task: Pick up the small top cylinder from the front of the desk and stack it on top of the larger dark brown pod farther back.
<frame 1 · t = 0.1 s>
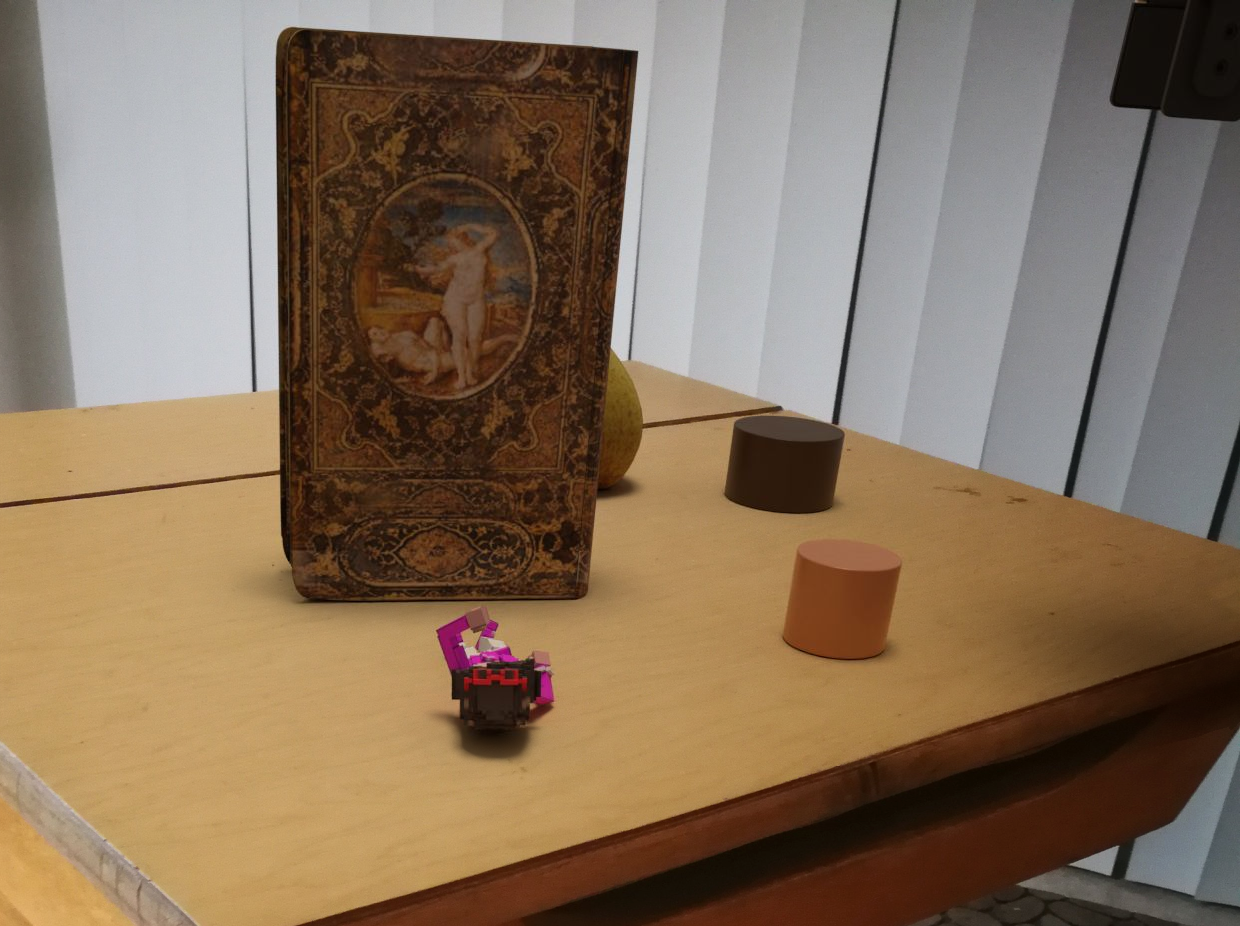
hand: (1170, 113, 66), 24 cm above the table, tool pointing down, fingers open, 9 cm apart
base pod: (778, 497, 102), on the table
top cylinder: (833, 641, 78), on the table
book: (438, 587, 82), on the table
fruit: (568, 485, 102), on the table
character figurine: (492, 706, 69), on the table
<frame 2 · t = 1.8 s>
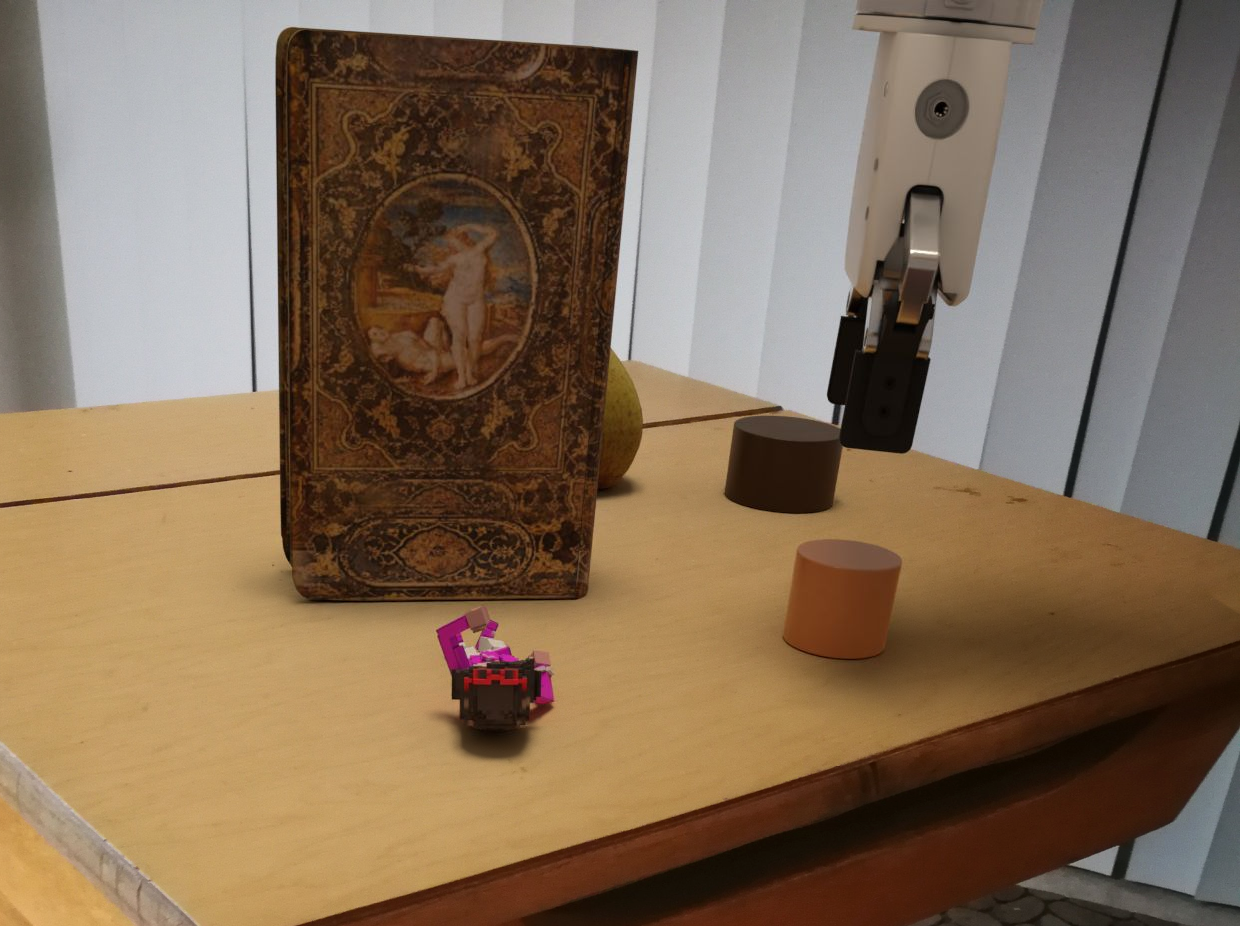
hand: (865, 425, 72), 11 cm above the table, tool pointing down, fingers open, 9 cm apart
nothing on the table moved.
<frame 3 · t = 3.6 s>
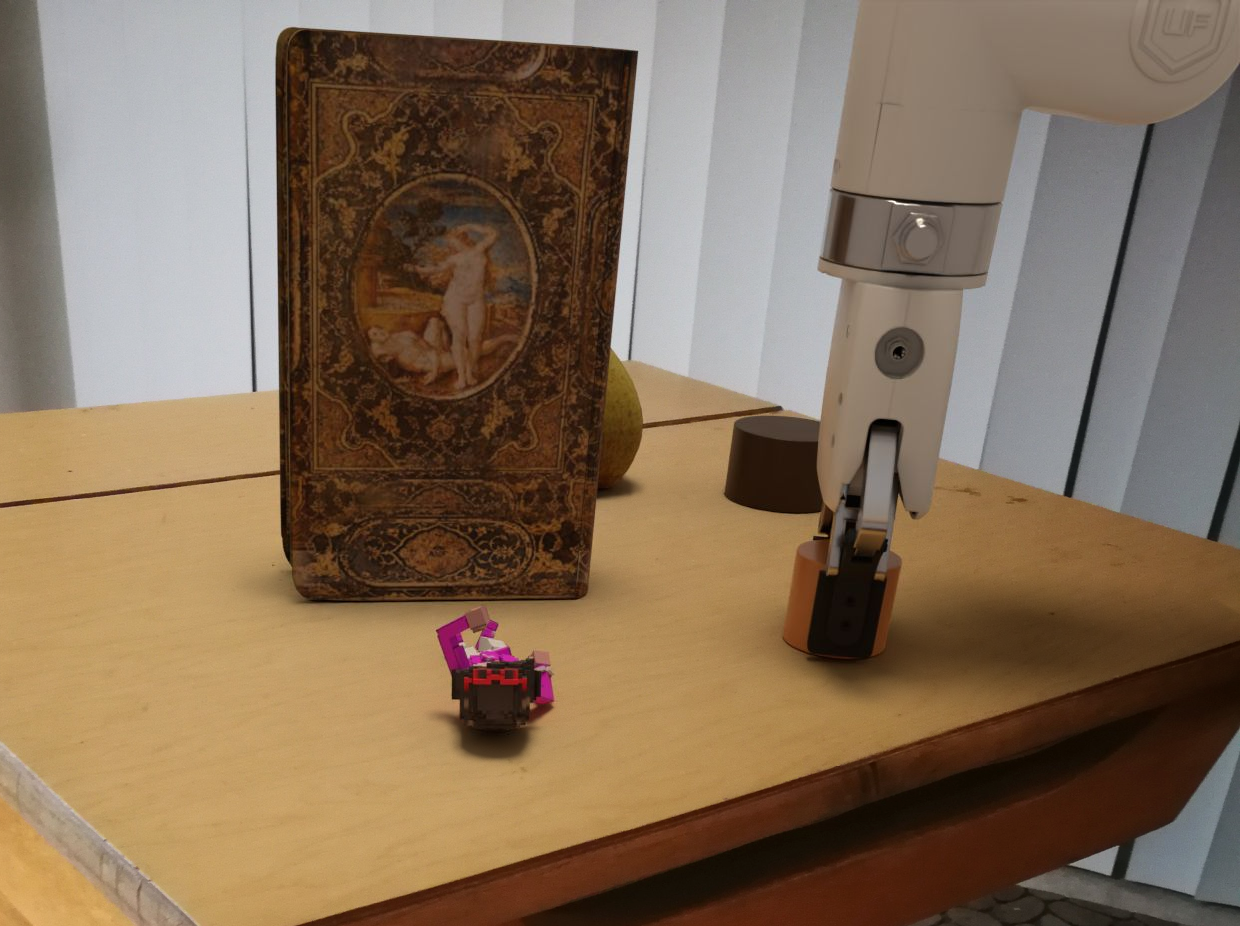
hand: (835, 630, 78), 1 cm above the table, tool pointing down, fingers closed on top cylinder, 5 cm apart
top cylinder: (833, 641, 78), on the table, touching gripper
everything else where it was.
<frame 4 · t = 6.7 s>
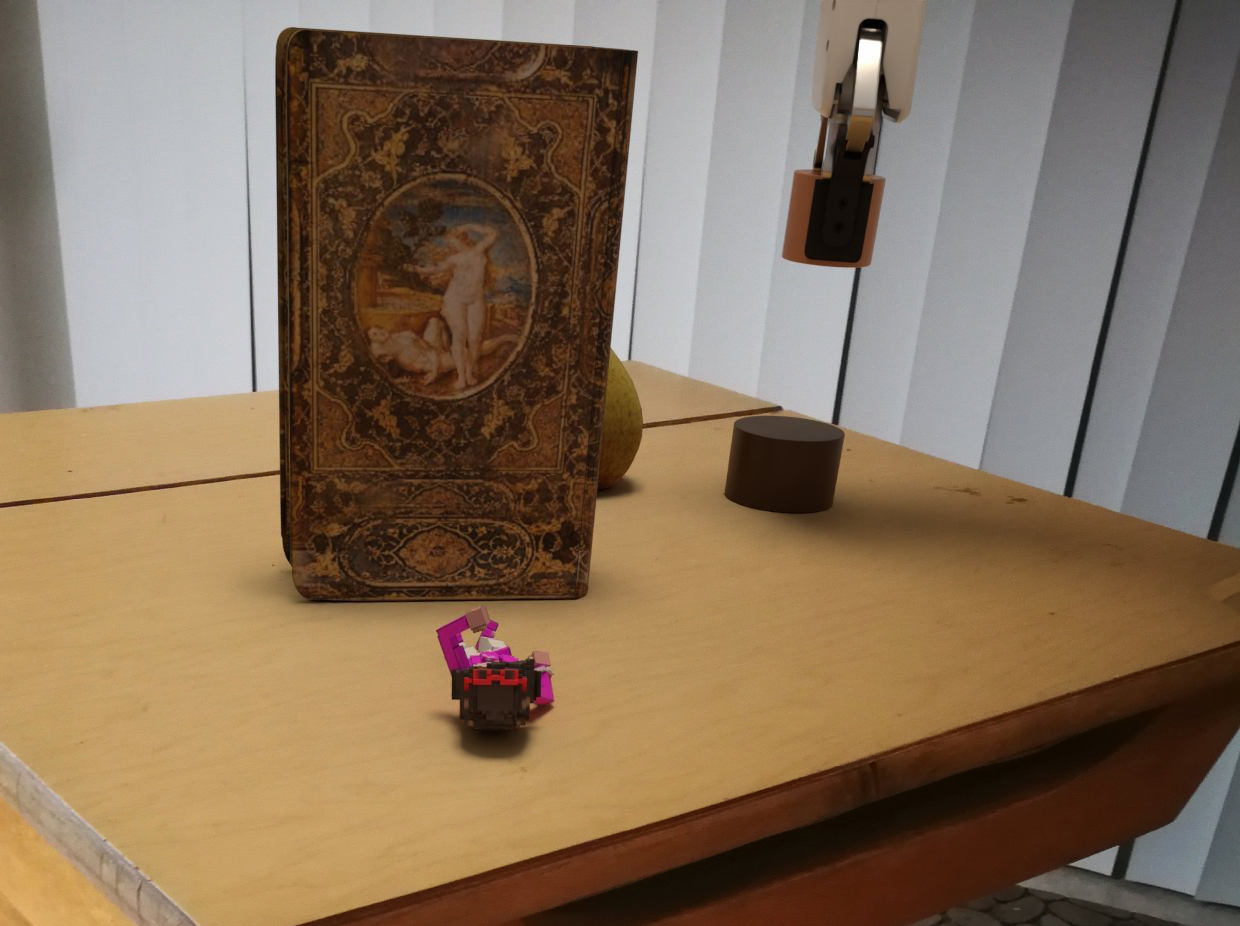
hand: (828, 250, 89), 16 cm above the table, tool pointing down, fingers closed on top cylinder, 5 cm apart
top cylinder: (825, 260, 89), point 15 cm above the table, touching gripper
everything else where it was.
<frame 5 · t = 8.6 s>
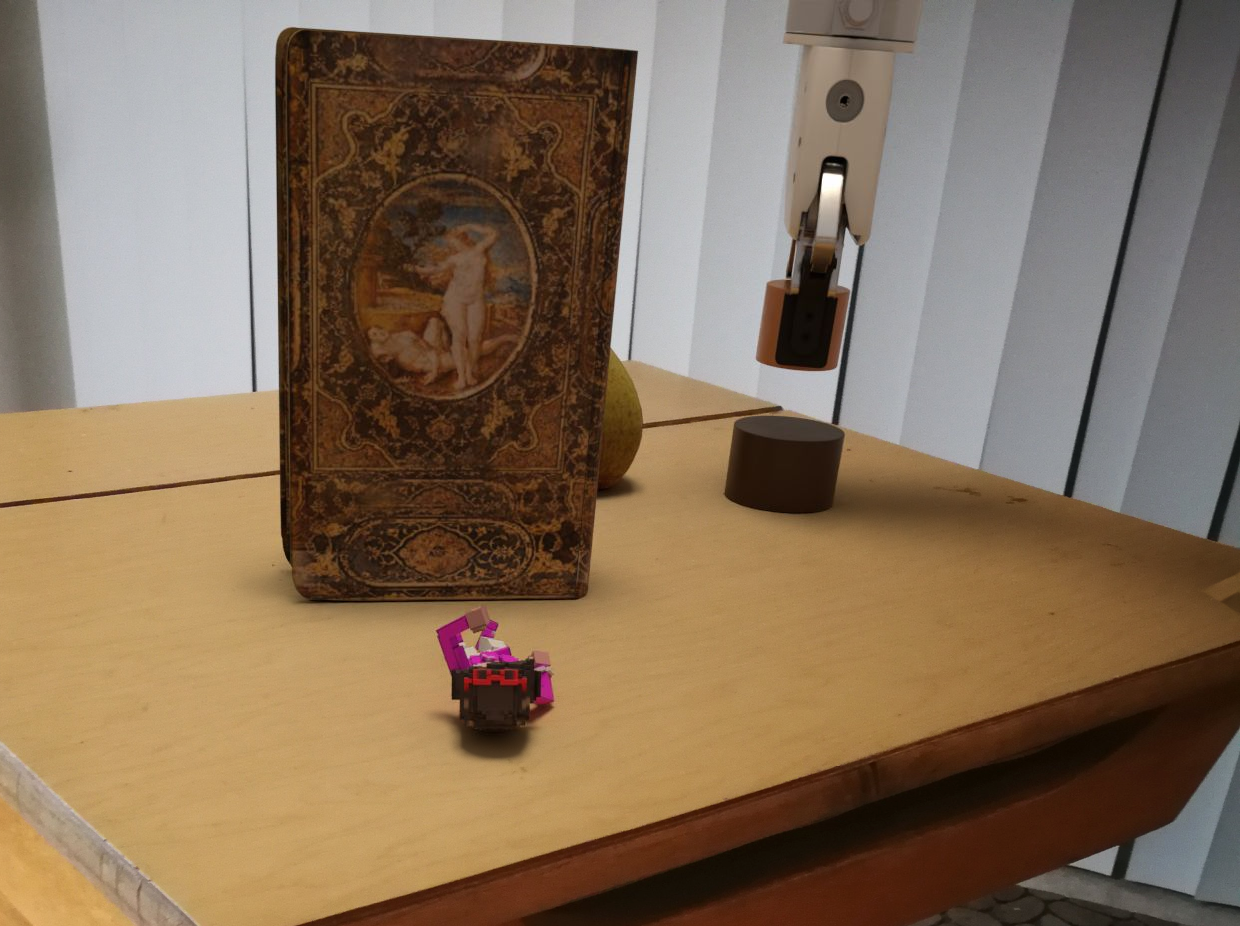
hand: (798, 353, 97), 9 cm above the table, tool pointing down, fingers closed on top cylinder, 5 cm apart
top cylinder: (796, 362, 97), point 8 cm above the table, touching gripper
everything else where it was.
when the fingers open (5 cm above the table, at t = 10.0 s): top cylinder stays where it is, resting on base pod.
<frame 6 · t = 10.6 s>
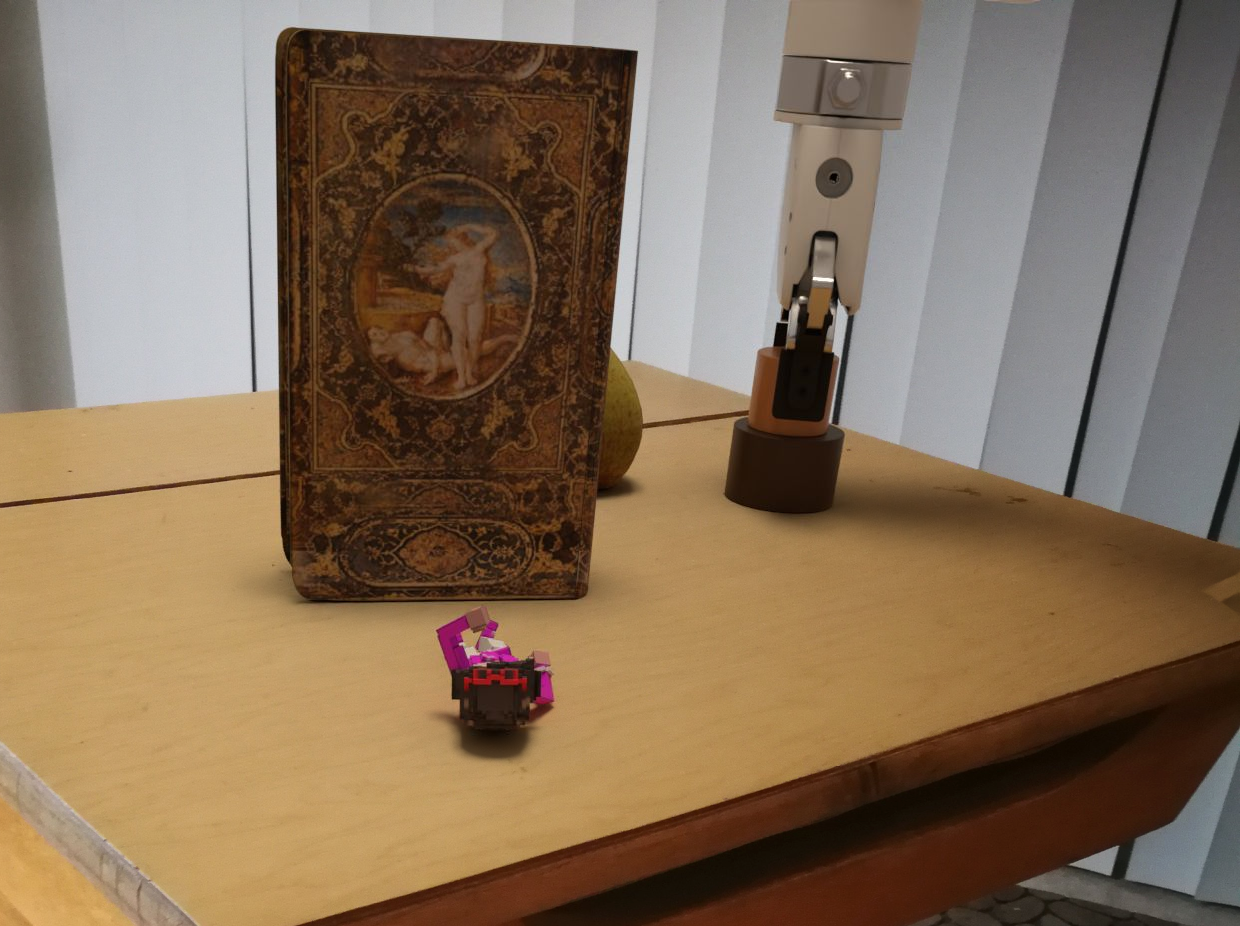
hand: (793, 403, 99), 6 cm above the table, tool pointing down, fingers open, 9 cm apart
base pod: (778, 497, 102), on the table, touching top cylinder
top cylinder: (787, 427, 99), point 4 cm above the table, touching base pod
everything else where it was.
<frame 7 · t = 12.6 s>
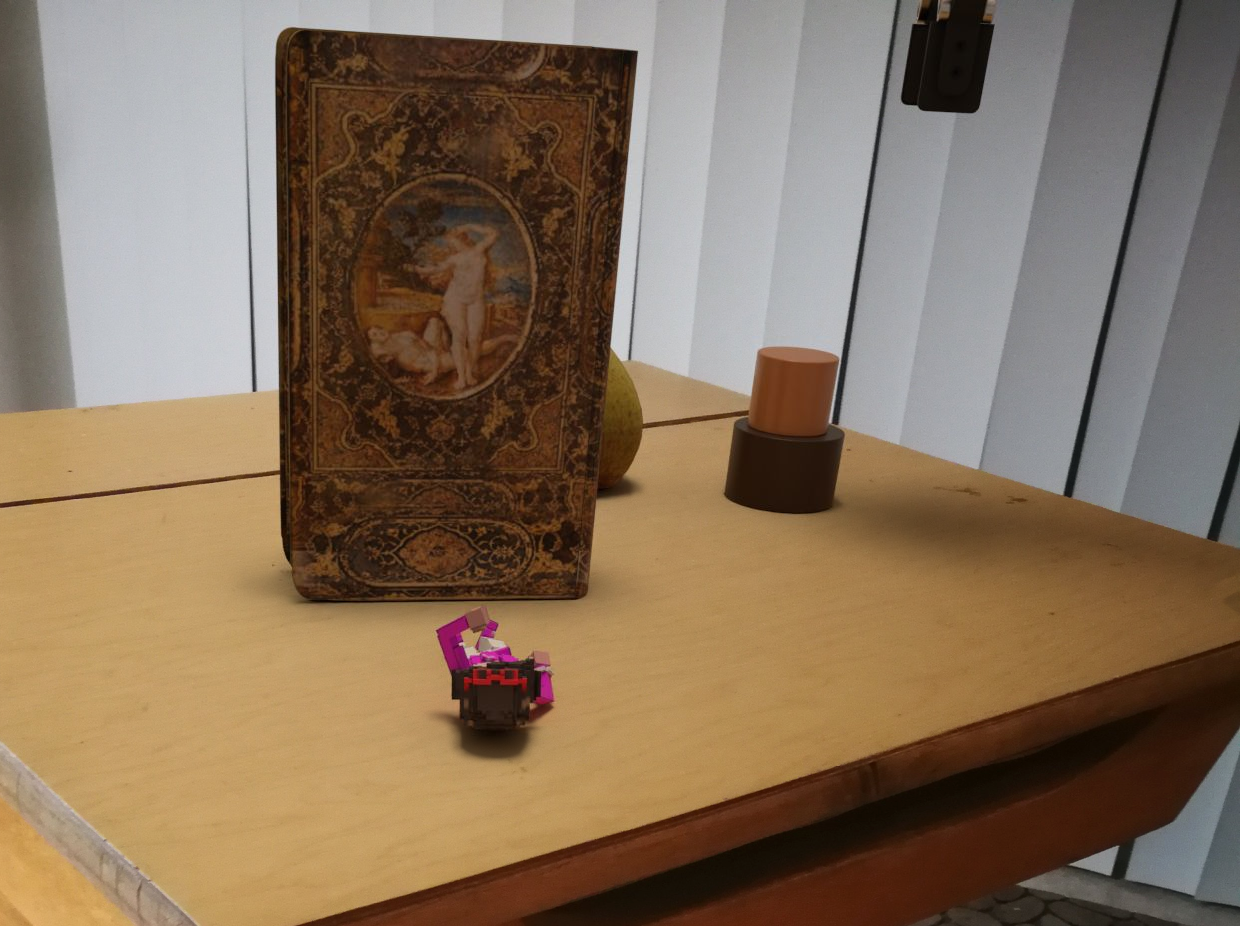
hand: (936, 108, 85), 23 cm above the table, tool pointing down, fingers open, 9 cm apart
nothing on the table moved.
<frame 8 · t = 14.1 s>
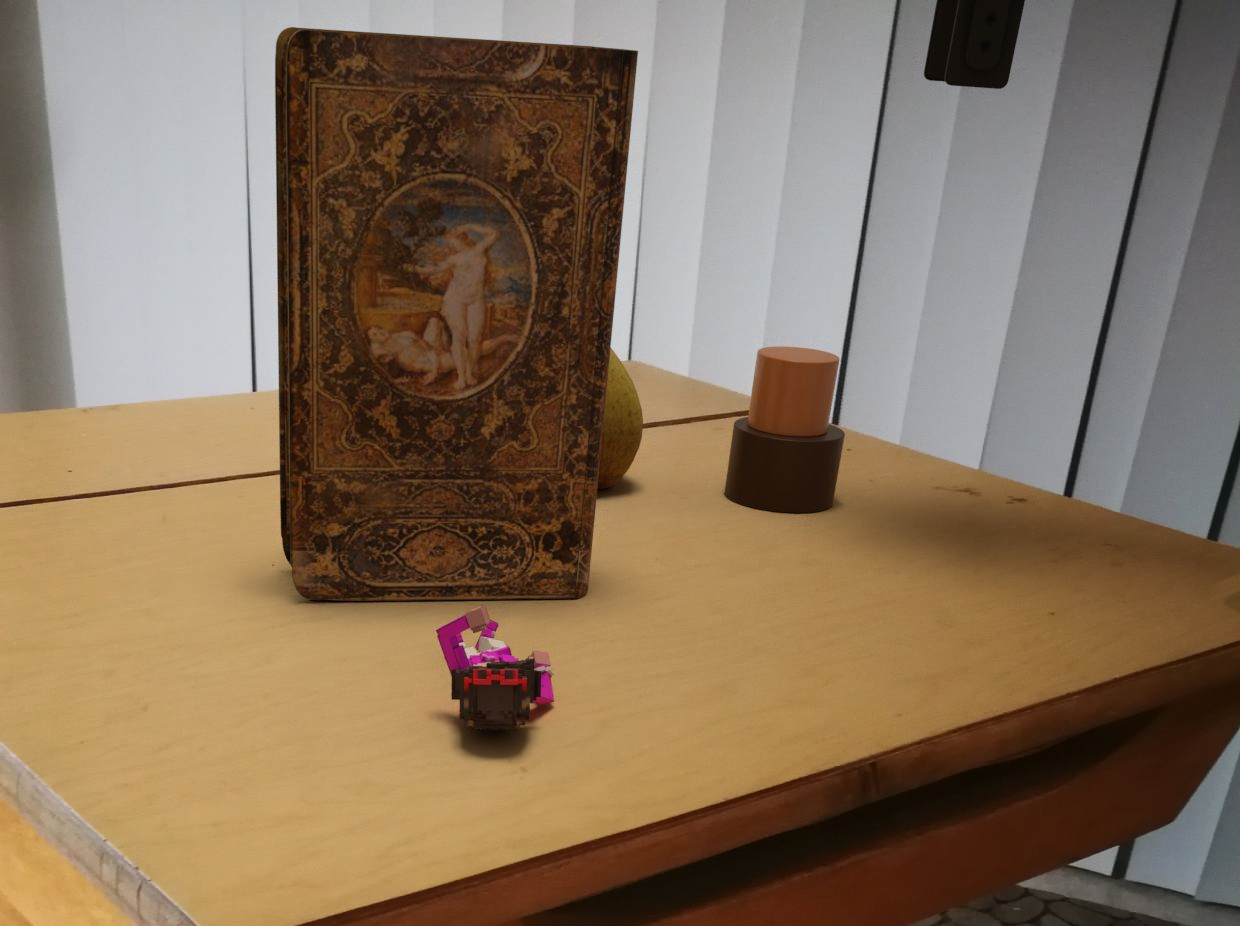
hand: (962, 83, 83), 24 cm above the table, tool pointing down, fingers open, 9 cm apart
nothing on the table moved.
at the end: top cylinder 0.1 cm off-centre on the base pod, point 4.5 cm above the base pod's base; top cylinder tilted 0°; the gripper is holding nothing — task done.
